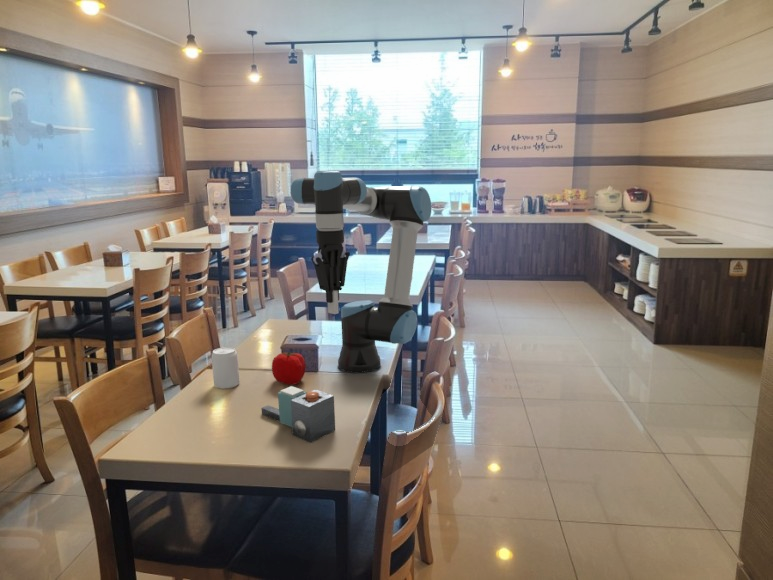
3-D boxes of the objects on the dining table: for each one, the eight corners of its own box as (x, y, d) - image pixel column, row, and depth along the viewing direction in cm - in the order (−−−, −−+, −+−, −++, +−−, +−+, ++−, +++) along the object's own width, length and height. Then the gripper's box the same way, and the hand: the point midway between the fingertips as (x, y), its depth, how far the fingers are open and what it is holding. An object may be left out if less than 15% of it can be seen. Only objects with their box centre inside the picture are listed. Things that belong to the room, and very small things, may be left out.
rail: (268, 411, 164) (268, 405, 163) (308, 427, 153) (308, 420, 153) (261, 414, 162) (261, 407, 162) (301, 430, 151) (301, 423, 151)
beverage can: (244, 383, 186) (242, 348, 183) (227, 391, 179) (224, 356, 176) (226, 379, 190) (223, 345, 187) (208, 387, 183) (205, 352, 180)
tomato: (285, 391, 178) (283, 360, 176) (265, 380, 188) (263, 351, 186) (315, 382, 186) (313, 352, 183) (294, 372, 195) (292, 344, 193)
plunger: (313, 410, 151) (312, 390, 150) (322, 413, 149) (321, 393, 148) (304, 414, 149) (303, 394, 148) (312, 417, 147) (312, 397, 145)
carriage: (293, 416, 159) (291, 385, 157) (308, 421, 155) (306, 390, 153) (279, 422, 155) (277, 390, 153) (294, 428, 151) (292, 395, 149)
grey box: (317, 423, 156) (315, 389, 154) (335, 430, 151) (333, 395, 149) (291, 435, 149) (289, 400, 146) (309, 443, 144) (307, 407, 142)
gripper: (336, 226, 160) (339, 306, 165) (302, 230, 150) (307, 315, 155) (356, 227, 155) (358, 310, 160) (322, 232, 145) (326, 320, 150)
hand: (333, 312), depth 157 cm, fingers closed
